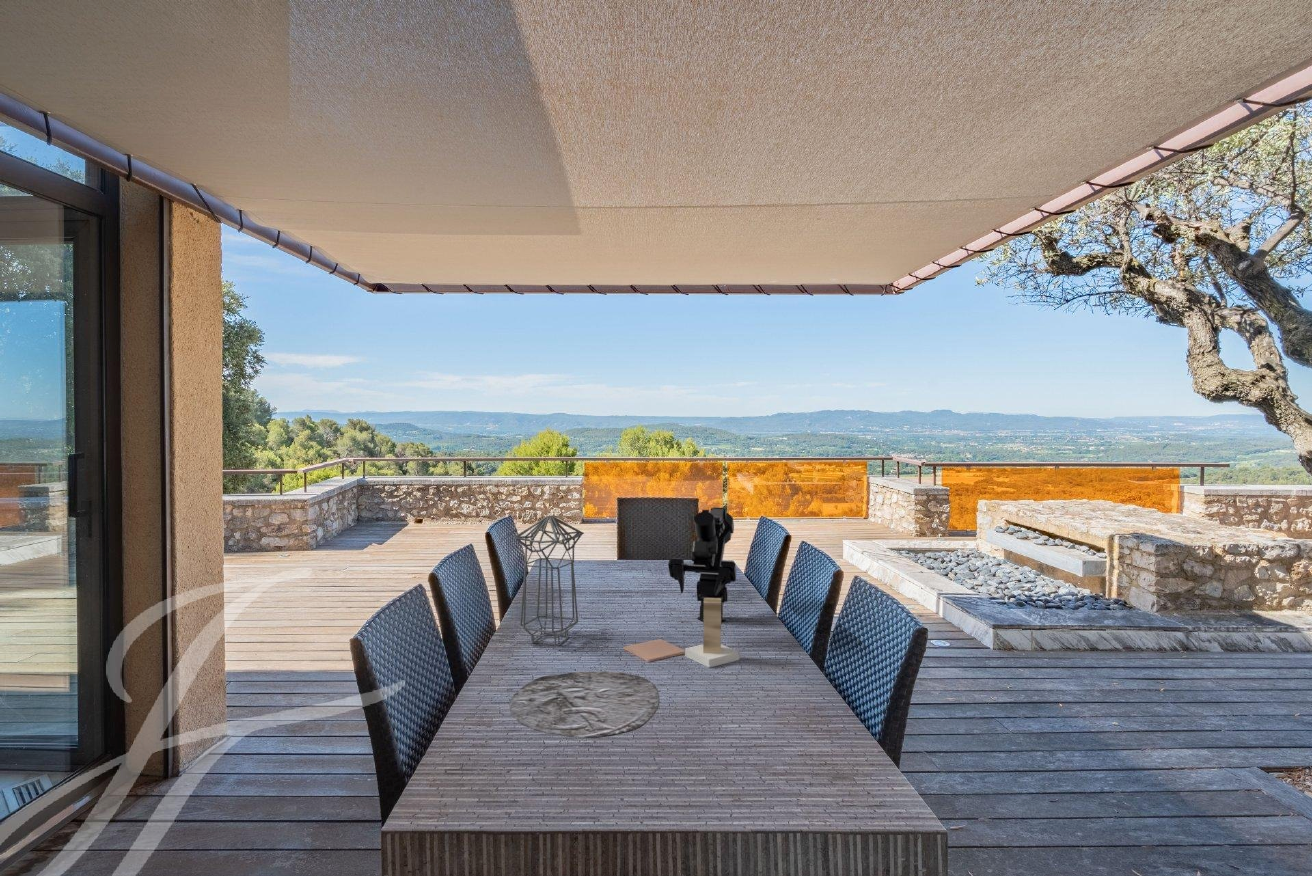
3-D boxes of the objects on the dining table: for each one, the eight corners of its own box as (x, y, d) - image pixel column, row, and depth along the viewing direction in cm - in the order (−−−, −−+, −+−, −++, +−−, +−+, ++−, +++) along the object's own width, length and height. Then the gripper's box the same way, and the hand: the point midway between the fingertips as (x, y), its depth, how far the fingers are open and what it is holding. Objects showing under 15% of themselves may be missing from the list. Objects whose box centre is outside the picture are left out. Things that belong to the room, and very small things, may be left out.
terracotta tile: (660, 640, 190) (660, 638, 190) (686, 653, 180) (686, 650, 180) (623, 648, 183) (623, 646, 183) (648, 662, 173) (648, 659, 173)
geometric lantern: (561, 652, 180) (562, 521, 179) (509, 645, 185) (510, 517, 184) (586, 634, 195) (587, 513, 194) (538, 629, 200) (538, 510, 199)
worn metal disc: (514, 748, 128) (514, 746, 128) (505, 679, 162) (505, 678, 162) (684, 728, 137) (684, 726, 137) (641, 667, 170) (641, 665, 170)
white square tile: (714, 648, 184) (714, 641, 184) (739, 659, 175) (739, 652, 175) (684, 655, 178) (685, 648, 178) (709, 667, 170) (709, 659, 170)
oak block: (703, 647, 179) (703, 597, 179) (720, 647, 179) (721, 598, 178) (703, 652, 175) (703, 602, 174) (720, 653, 174) (721, 603, 174)
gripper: (670, 529, 194) (660, 571, 182) (736, 532, 190) (730, 575, 178) (675, 555, 201) (665, 598, 189) (738, 559, 197) (733, 603, 185)
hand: (698, 593), depth 185 cm, fingers open, 9 cm apart
